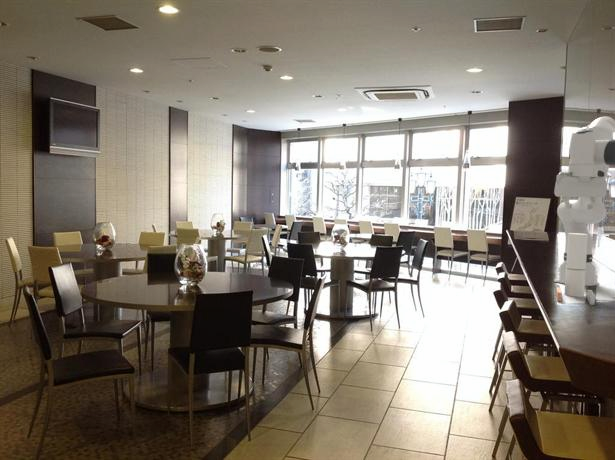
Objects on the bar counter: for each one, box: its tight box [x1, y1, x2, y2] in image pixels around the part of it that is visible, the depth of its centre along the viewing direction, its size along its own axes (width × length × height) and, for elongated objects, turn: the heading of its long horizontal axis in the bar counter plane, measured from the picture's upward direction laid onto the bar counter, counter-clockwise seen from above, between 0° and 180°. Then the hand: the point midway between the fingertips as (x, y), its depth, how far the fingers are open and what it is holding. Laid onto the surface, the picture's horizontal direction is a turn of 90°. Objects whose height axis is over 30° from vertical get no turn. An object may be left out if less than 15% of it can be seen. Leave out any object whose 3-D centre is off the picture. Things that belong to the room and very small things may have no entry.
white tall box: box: [564, 233, 588, 298], centre depth 217 cm, size 7×7×25 cm
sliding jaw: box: [554, 284, 563, 302], centre depth 212 cm, size 21×1×3 cm, turn 157°
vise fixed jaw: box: [586, 289, 596, 306], centre depth 204 cm, size 14×1×4 cm, turn 157°
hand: (579, 209), depth 205 cm, fingers open, 8 cm apart
